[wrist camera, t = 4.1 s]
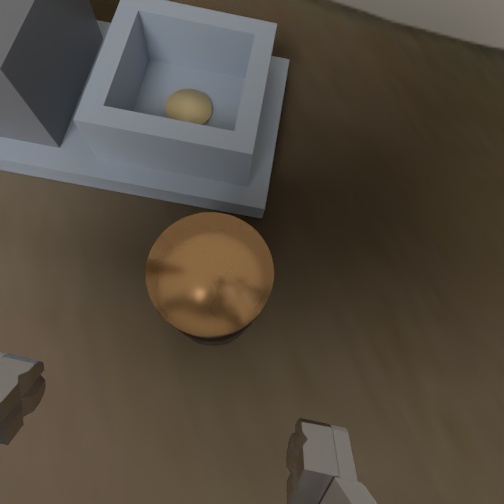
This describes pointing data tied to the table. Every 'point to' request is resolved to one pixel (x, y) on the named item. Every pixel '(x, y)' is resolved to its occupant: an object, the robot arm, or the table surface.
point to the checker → (142, 100)
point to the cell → (210, 276)
